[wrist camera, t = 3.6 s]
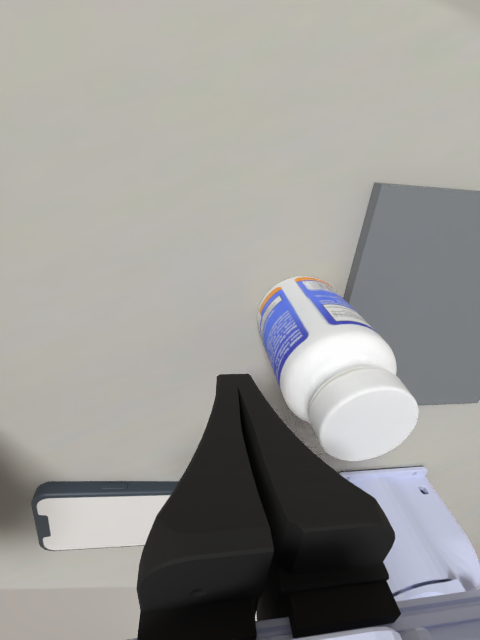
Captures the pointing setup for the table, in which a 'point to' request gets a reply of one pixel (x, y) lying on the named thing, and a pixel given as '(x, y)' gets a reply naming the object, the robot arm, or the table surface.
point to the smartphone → (97, 513)
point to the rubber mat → (423, 287)
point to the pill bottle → (335, 370)
